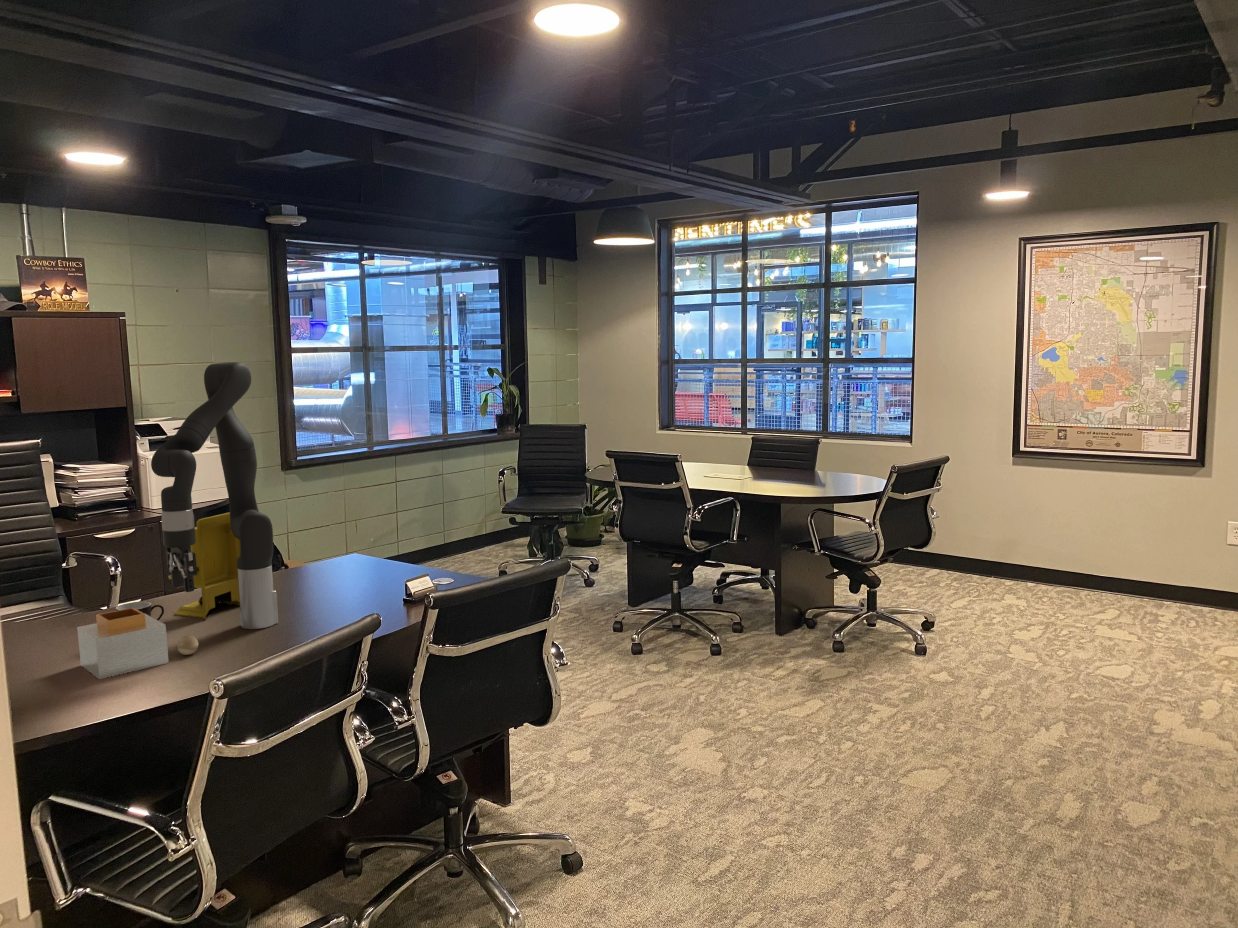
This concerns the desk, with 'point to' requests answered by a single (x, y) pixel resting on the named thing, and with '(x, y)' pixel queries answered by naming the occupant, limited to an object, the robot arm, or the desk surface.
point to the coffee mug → (141, 607)
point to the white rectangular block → (122, 643)
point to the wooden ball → (187, 645)
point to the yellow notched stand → (214, 566)
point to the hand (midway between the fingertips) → (183, 588)
